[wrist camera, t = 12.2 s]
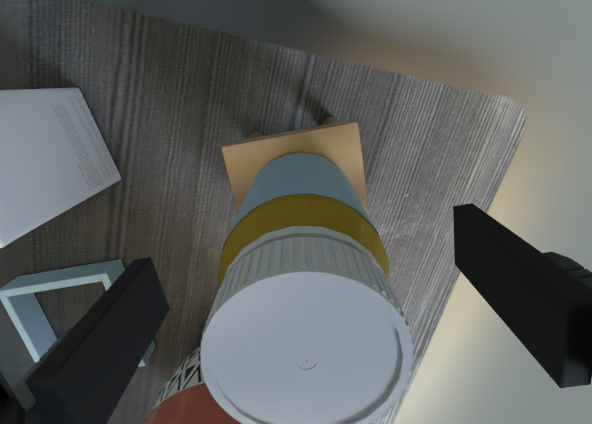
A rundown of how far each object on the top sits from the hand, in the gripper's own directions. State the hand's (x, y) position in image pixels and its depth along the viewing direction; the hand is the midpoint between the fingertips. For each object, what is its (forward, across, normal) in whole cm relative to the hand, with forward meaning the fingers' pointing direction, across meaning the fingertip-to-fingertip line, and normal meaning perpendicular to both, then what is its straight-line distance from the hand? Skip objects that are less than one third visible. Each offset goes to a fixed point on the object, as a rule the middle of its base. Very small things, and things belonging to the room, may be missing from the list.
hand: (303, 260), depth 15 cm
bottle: (+10, 0, 0) cm, 10 cm away
